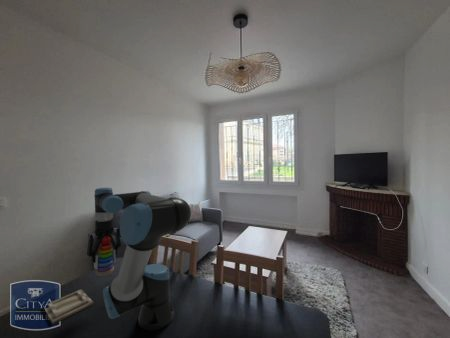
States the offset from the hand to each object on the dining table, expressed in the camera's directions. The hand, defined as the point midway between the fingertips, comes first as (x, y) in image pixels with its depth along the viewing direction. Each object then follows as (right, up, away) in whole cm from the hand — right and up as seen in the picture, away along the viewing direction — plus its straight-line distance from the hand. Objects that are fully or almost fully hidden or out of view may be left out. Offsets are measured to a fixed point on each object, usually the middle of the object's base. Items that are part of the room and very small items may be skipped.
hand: (105, 264), depth 103 cm
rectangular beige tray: (-17, -19, -2) cm, 26 cm away
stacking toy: (0, -4, 0) cm, 4 cm away
